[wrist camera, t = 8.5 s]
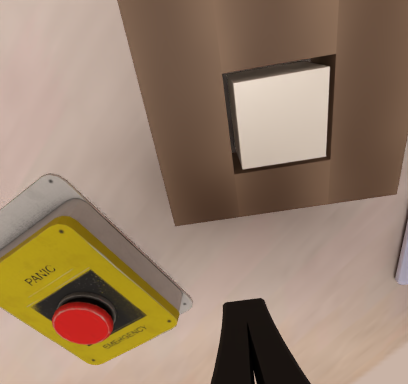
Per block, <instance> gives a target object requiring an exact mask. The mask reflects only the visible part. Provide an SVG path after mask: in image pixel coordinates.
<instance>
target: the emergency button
mask: <svg viewBox="0 0 408 384" xmlns="http://www.w3.org/2000/svg"><path fill="white" fill-rule="evenodd" d="M192 303H193V301H192V299H191V297H190V296H189V295H188V294H187V293H186V292H185V291H184V290H183V289H182V288H180V287H179V286H178V285H177V284H176V283H175V282H174V281H173V280H172V279H171V278H170V277H169V276H168V275H167V274H166V273H165V272H163V271H162V270H161V269H160V268H159V267H158V266H157V265H156V264H155V263H154V262H153V261H152V260H151V259H150V258H149V257H148V256H147V255H145V254H144V253H143V252H142V251H141V250H140V249H139V248H138V247H137V246H136V245H135V244H134V243H133V242H132V241H131V240H130V239H128V238H127V237H126V236H125V235H124V234H123V233H122V232H121V231H120V230H119V229H118V228H117V227H116V226H115V225H114V224H113V223H111V222H110V221H109V220H108V219H107V218H106V217H105V216H104V215H103V214H102V213H101V212H100V211H99V210H98V209H97V208H96V207H95V206H93V205H92V204H91V203H90V202H89V201H88V200H87V199H86V198H85V197H84V196H83V195H82V194H81V193H80V192H79V191H78V190H76V189H75V188H74V187H73V186H72V185H71V184H70V183H69V182H68V181H67V180H65V179H64V178H62V177H61V176H59V175H55V174H47V175H44V176H42V177H41V178H39V179H38V180H37V181H36V182H35V183H33V184H32V185H31V186H30V187H28V188H27V189H26V190H25V191H23V192H22V193H21V194H20V195H18V196H17V197H16V198H15V199H13V200H12V201H11V202H10V203H8V204H7V205H6V206H5V207H3V208H2V209H1V210H0V308H2V309H3V310H5V311H6V312H8V313H10V314H11V315H13V316H14V317H16V318H17V319H19V320H21V321H22V322H24V323H25V324H27V325H28V326H30V327H32V328H33V329H35V330H36V331H38V332H39V333H41V334H43V335H44V336H46V337H47V338H49V339H50V340H52V341H53V342H55V343H57V344H58V345H60V346H61V347H63V348H64V349H66V350H68V351H69V352H71V353H72V354H74V355H75V356H77V357H79V358H80V359H82V360H83V361H85V362H86V363H89V364H91V365H99V364H103V363H105V362H107V361H109V360H111V359H113V358H115V357H117V356H119V355H121V354H123V353H125V352H127V351H129V350H131V349H133V348H135V347H137V346H139V345H141V344H143V343H145V342H147V341H149V340H151V339H153V338H155V337H157V336H159V335H161V334H163V333H165V332H167V331H169V330H171V329H173V328H174V327H175V326H176V325H177V321H178V318H179V315H180V314H182V313H184V312H186V311H188V310H189V309H191V308H192Z"/></svg>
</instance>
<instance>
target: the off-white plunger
mask: <svg viewBox="0 0 408 384" xmlns="http://www.w3.org/2000/svg"><path fill="white" fill-rule="evenodd" d="M329 76H330V66H325V65H320V64H316V63H311V62H307V61H300V62H295V63H289V64H283V65H278V66H272V67H266V68H261V69H255V70H249V71H244V72H238V73H232V74H227V83H228V91H229V100H230V109H231V117H232V126H233V135H234V143H235V148H236V151H237V154H238V157H239V160H240V163H241V166H242V169H249V168H255V167H262V166H268V165H275V164H281V163H287V162H294V161H300V160H307V159H313V158H320V157H326V143H327V121H328V98H329Z"/></svg>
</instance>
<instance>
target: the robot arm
mask: <svg viewBox="0 0 408 384" xmlns="http://www.w3.org/2000/svg"><path fill="white" fill-rule="evenodd" d="M395 280H396V281H397V282H398V284H400V285H406V284H408V221H407V226H406V231H405V235H404V240H403V245H402V249H401V254H400V258H399V263H398V268H397V272H396V277H395ZM254 374H255V378H256V382H257V384H311V383H310V382H309V381H308V379H307V378H306V376H305V375H304V373H303V371H302V370H301V368H300V367H299V365H298V364H297V362H296V360H295V359H294V357H293V355H292V354H291V352H290V350H289V349H288V347H287V346H286V344H285V342H284V340H283V339H282V337H281V335H280V333H279V331H278V329H277V328H276V326H275V324H274V322H273V320H272V318H271V316H270V313H269V311H268V309H267V306H266V304H265V301H264V300H263V299H261V298H258V299H250V300H242V301H234V302H226V303H225V304H224V305H223V319H222V329H221V336H220V343H219V348H218V353H217V358H216V363H215V368H214V372H213V377H212V380H211V384H255V381H254Z"/></svg>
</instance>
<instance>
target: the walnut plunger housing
mask: <svg viewBox="0 0 408 384" xmlns="http://www.w3.org/2000/svg"><path fill="white" fill-rule="evenodd" d="M117 1H118V5H119V9H120V12H121V16H122V20H123V24H124V28H125V32H126V36H127V40H128V44H129V48H130V51H131V55H132V59H133V63H134V67H135V71H136V75H137V79H138V83H139V87H140V90H141V94H142V98H143V102H144V106H145V110H146V114H147V118H148V122H149V126H150V129H151V133H152V137H153V141H154V145H155V149H156V153H157V157H158V161H159V165H160V168H161V172H162V176H163V180H164V184H165V188H166V192H167V196H168V200H169V204H170V207H171V211H172V215H173V219H174V223H175V226H180V225H187V224H194V223H201V222H208V221H215V220H222V219H229V218H236V217H242V216H249V215H256V214H263V213H270V212H277V211H284V210H291V209H298V208H305V207H312V206H319V205H325V204H332V203H339V202H346V201H353V200H360V199H367V198H374V197H381V196H388V195H395V194H397V190H398V185H399V179H400V174H401V168H402V163H403V158H404V152H405V147H406V141H407V136H408V0H117ZM309 58H311V63H316V64H320V65H325V66H330V76H329V98H328V121H327V143H326V157H320V158H313V159H307V160H300V161H294V162H287V163H281V164H275V165H268V166H262V167H255V168H249V169H242V166H241V163H240V160H239V157H238V154H237V152H235V153H232V151H231V143H230V135H229V127H228V119H227V111H226V102H225V94H224V86H223V78H222V74H224V73H229V72H235V71H241V70H246V69H252V68H258V67H263V66H269V65H275V64H280V63H286V62H292V61H298V60H303V59H309Z"/></svg>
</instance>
